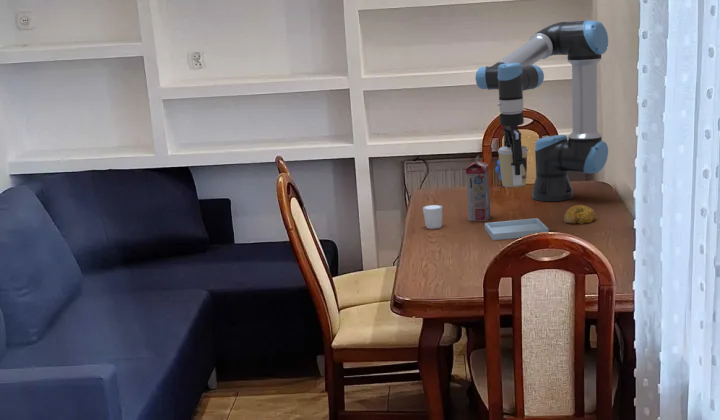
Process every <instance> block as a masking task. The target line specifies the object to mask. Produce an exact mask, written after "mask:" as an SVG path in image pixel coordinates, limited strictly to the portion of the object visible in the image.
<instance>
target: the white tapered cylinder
mask: <svg viewBox="0 0 720 420" xmlns="http://www.w3.org/2000/svg"><path fill="white" fill-rule="evenodd" d="M422 212H423V218H424V219H423V220H424V224H425V228H427V229H430V230H431V229H434V230H435V229H440V228H441V227H442V226H443V205H440V204H430V205H429V204H428V205H425V206H423V207H422Z"/></svg>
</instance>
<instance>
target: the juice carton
mask: <svg viewBox="0 0 720 420" xmlns="http://www.w3.org/2000/svg"><path fill="white" fill-rule="evenodd" d="M489 173H490V172H489V164H488V163H486V162H484V161H482V160H481V159H480V155H477V156H476V157H475V159H474V161H473V162H472V163H470V164H469V165H468V166H467V167H466V168H465V177H466V178H465V179H466V181H465V182H466V199H467V218H468V219H467V220H468V221H469V222H476V221H478V222H488V220H490V218H491V196H490V195H491V193H490V174H489Z"/></svg>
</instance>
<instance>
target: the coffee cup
mask: <svg viewBox="0 0 720 420" xmlns="http://www.w3.org/2000/svg"><path fill="white" fill-rule="evenodd" d="M521 146H522V158H523V164H521V174H522V185H513V173H512V166H511V163H513V159H512V150H511V147H506V146H505V147H504V146H501V147H499V148H498V150H497V153H498V160H499V162H500V171H501V179H502V181H501V185H502V186H503V187H505V188H506V187H507V188H517V187H518V188H519V187H523V186H526V185H527V170H528V169H527V168H528V166H527V165H528V148H527V146H525V145H521Z"/></svg>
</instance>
